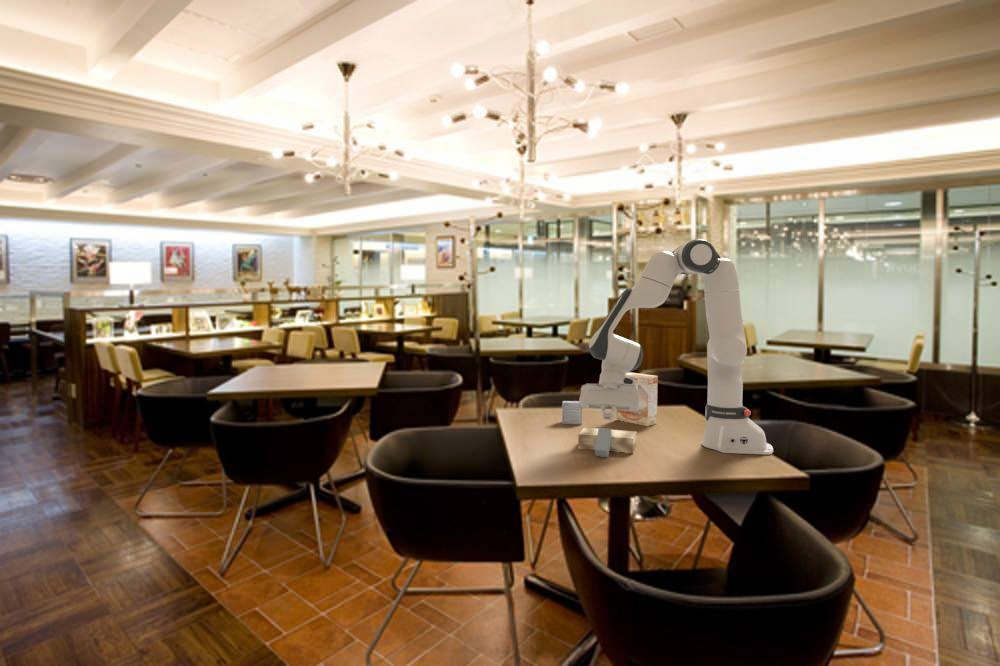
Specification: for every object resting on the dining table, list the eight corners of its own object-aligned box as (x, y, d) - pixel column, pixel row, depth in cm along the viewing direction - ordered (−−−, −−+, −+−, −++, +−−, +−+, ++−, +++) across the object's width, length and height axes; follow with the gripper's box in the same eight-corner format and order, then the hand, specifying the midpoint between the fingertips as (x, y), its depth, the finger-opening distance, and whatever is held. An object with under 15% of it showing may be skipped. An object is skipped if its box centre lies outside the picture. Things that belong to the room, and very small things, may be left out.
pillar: (611, 428, 187) (607, 450, 181) (611, 435, 190) (608, 457, 183) (598, 427, 189) (594, 449, 182) (599, 434, 191) (595, 456, 184)
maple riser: (636, 446, 197) (636, 431, 196) (633, 453, 187) (633, 438, 187) (584, 441, 203) (584, 427, 202) (578, 448, 193) (578, 434, 193)
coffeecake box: (615, 420, 236) (616, 373, 234) (625, 417, 241) (626, 371, 239) (647, 426, 225) (648, 377, 223) (657, 423, 230) (658, 375, 228)
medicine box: (581, 422, 232) (581, 401, 232) (582, 424, 228) (582, 403, 227) (561, 421, 233) (562, 400, 232) (562, 424, 229) (562, 402, 228)
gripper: (580, 378, 200) (574, 411, 192) (641, 380, 194) (637, 415, 185) (583, 388, 205) (577, 421, 196) (642, 391, 198) (638, 426, 190)
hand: (607, 418), depth 191 cm, fingers closed
